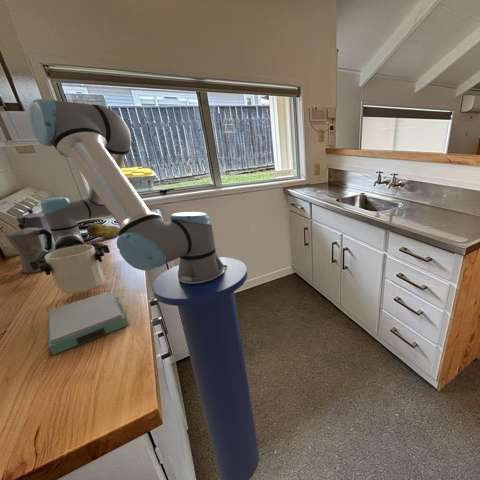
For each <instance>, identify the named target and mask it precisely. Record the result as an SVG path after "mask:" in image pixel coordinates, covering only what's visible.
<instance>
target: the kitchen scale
mask: <svg viewBox="0 0 480 480" xmlns="http://www.w3.org/2000/svg"><path fill="white" fill-rule="evenodd" d="M47 314H48V315H47V317H48V320H47V321H48V323H47V324H48V327H47V328H48V329H47V331H48V349H49V351H50V353H51V355H52V356H54V355H57V354H60V353H61V352H64V351H68V350H69V349H72V348H75V347H77V346H79V345H82V344H84V343H87V342H90V341H92V340H94V339H95V340H96V339H97V338H100V337H102V336H104V335H107V334H109V333H112V332H114V331H117V330H119V329H122V328H125V327H127V326H128V323H127V320H126V317H125V316H124V313H123V311H122V309H121V306H120V304H119V302H118V300H117V298H116V296H115V293H114V291H113V292H112V291H111V290H109V291H106V292H103V293H99V294H97V295H93V296H90V297H87V298H83V299H81V300H77V301H74V302H70V303H67V304H64V305H61V306H58V307H54V308H51V309H49V312H48V313H47Z"/></svg>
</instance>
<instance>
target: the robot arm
mask: <svg viewBox="0 0 480 480" xmlns="http://www.w3.org/2000/svg"><path fill="white" fill-rule="evenodd" d="M28 113H29V114H28V115H29V123H30V127H31V130H32V132H33V135H34V138H35V139H36V141H37V142H38V143H39V144H40V145H43V146H47V147H54V148H55V149H56V151H57V152H58V154H59V155H60V156H62V157H64V158H66V159H71V161H72V162H73V164H74V166H75V167H76V168H77V169H78V170H79V172H80V173H81V175H82V176H83V177H84V179H85V180H86V182H87V183H88V185H89V187H88V195H87V197H86V198H84V199H77V200H70V199H69V198H68V197H65V196H60V197H50V198H44V199H42V200H41V201H40V208H41V211H42V214H44V216H45V218H46V220H47V223H48V225H49V227H50V232H51V234H52V237H53V239H54V241H55V250H58V249H62V248H66V247H71V246H77V245H87V244H86V243H85V242H84V239H83V235H82V233H81V231H80V229H79V225H78V222H79V221H84V220H88V219H94V218H98V217H103V216H108V215H111V216H112V218H113V219H114V220H115V222H116V223H117V224H118V226H119V227H118V228H119V230H118V235H117V236H118V237H117V239H116V247H117V249H118V250H119V251H118V253H119V254H120V256H121V257H122V259H123V260H124V261H125V262H126V263H127V264H128V265H129V266H131V267H132V268H134V269H136V270H140V271H143V272H145V271H150V270H153V269H156V268H161V267H163V266H164V265H166V264H167V263H170V262H172V261H175V260H177V259H179V263H178V265H179V269H178V279H179V282H180V283H182V284H184V285H202V284H206V283H210V282H212V281H215V280H217V279H218V278H220V277H221V276H222V275H223V274H224V272H225V271H224V267H227V265H223V264H222V262H221V260H220V258H219V257H220V256H219V255H218V252H217V251H216V243H215V237H214V232H213V231H214V230H213V224H212V221H211V217H210V215H209V214H207V213H206V212H199V211H183V212H182V211H181V212H176V213H175V212H174V213H172V214H170V218H169V219H170V220H169V221H165V220H164V219H163V218H162V216H161V215H160V214H159V213H155V212H151V211H150V209H149V208H148V206H147V205H146V203H145V202H144V201H143V200H142V198H141V196H140V195H139V194H138V192H137V191H136V189H135V188H134V186H133V185H132V183H130V181H129V180H128V178H127V177H126V175H125V174H124V173H123V171H122V170H121V169H122V167H123V163H124V159H125V156H126V155H128V154H129V153H130V151H131V148H132V135H131V131H130V129H129V126H128V124H127V123H126V122H125V120H124V119H123V118H122V116H121V115H120V114H118V113H117V112H115V111H114V110H112V109H111V108H109V107H107V106H104V105H100V104H95V103H94V104H90V103H83V102H82V103H81V102H74V101H65V100H57V99H54V98H53V99H45V98H44V99H43V98H42V99H41V98H37V99H34V100H32V101H31V103H30V106H29V112H28ZM89 245H93V246H94V249H95V252H96V255H97V258H98V260H99V263H102V262H103V259H102V257H105V256H106V255H105V254H110V253H111V250H110V247H109V245H108V244H104V243H99V242H97V241H95V240H93V241H91V242H90V243H89ZM55 250H54V251H55ZM48 253H49V252H46V251H43V252H41V254H40V255H39V256H38V257H36V258H35V259H33V260H32V261H30V262H29V263H30V265H31V267H32V270H37V269H38V268H39V269H40V270H41V271H40V272H45V275H46V276H49V275H51V272H50V269H49V267H48V265H47V262H46V260H45V255H47V254H48Z"/></svg>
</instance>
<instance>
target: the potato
mask: <svg viewBox="0 0 480 480" xmlns="http://www.w3.org/2000/svg"><path fill="white" fill-rule="evenodd" d="M119 228H120V227H118V226H114V225H105V224H102V223H95V224H91V225H88V227H87V228H86V232H87V233H88V234H89V236H90V237H93V238H101V239H111V238H115V237H116V236H119V235H118V230H119Z"/></svg>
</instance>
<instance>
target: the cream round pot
mask: <svg viewBox="0 0 480 480" xmlns="http://www.w3.org/2000/svg"><path fill="white" fill-rule="evenodd" d="M45 260H46V262H47V265H48V267H49V269H50V275H51V277H52V278H53V281H54V283H55V285H56V288H57V290H58V292H59V293H61V294H67V295H70V294H71V295H72V294H74V295H75V294H80V293H83V292H86V291H89V290H93V289H95V288H97V287H98V286H100V285H101V284H102V283H103V282H104V281H105V280H106V278H105V274H104V272H103V269H102V266H101V262H99V260H98V258H97V255H96V252H95V249H94V246H93V245H90V244H86V245H77V246H71V247H66V248H62V249H58V250H55V251H53V252H50V253H48V254H47V255H45Z"/></svg>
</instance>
